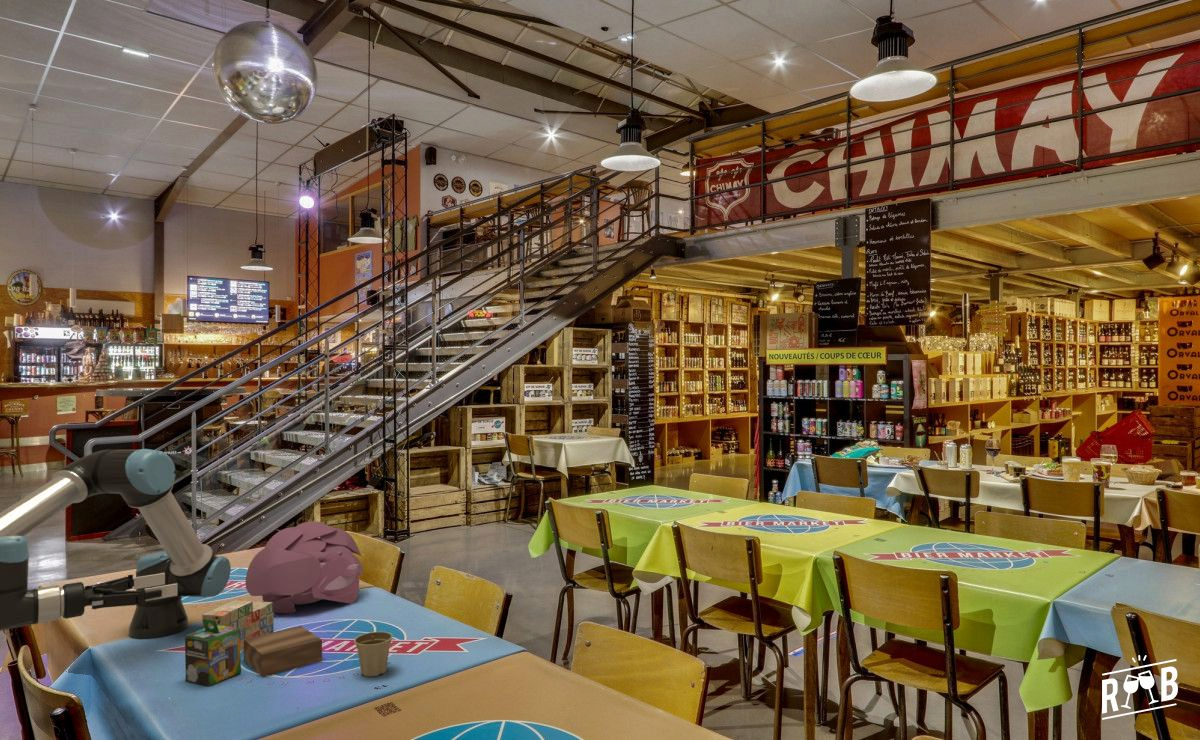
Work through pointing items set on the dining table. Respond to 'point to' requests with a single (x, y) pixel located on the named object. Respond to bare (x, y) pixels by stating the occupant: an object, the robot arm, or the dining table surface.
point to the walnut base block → (282, 650)
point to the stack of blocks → (244, 618)
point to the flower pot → (373, 652)
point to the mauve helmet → (306, 567)
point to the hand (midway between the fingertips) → (170, 583)
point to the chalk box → (212, 653)
